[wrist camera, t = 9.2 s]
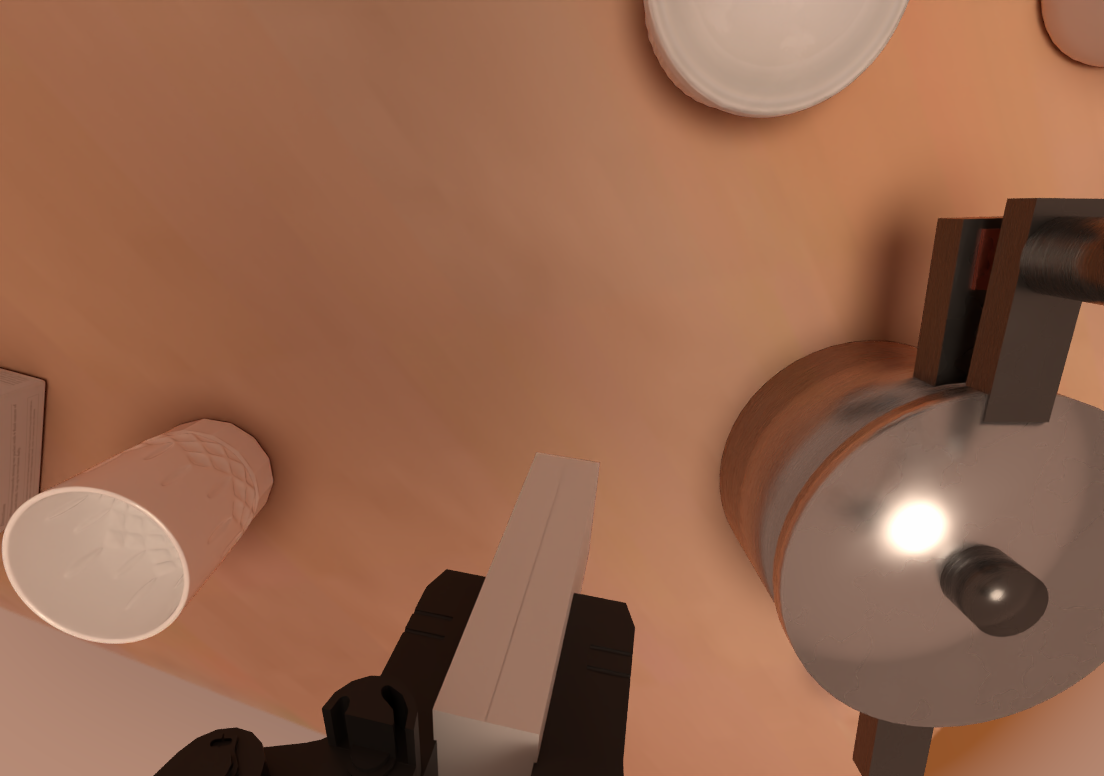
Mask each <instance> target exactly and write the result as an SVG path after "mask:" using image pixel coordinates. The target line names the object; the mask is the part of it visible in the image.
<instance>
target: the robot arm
mask: <svg viewBox="0 0 1104 776" xmlns="http://www.w3.org/2000/svg"><path fill="white" fill-rule="evenodd" d="M599 465H600V463H599V462H593V461H587V460H581V459H575V458H569V457H563V456H557V455H551V454H545V453H539V452H536V454H535V457H534V459H533V462H532V464H531V467H530V469H529V472H528V474H527V477H526V479H525V482H524V484H523V487H522V489H521V492H520V494H519V497H518V499H517V501H516V504H515V506H514V509H513V511H512V514H511V516H510V519H509V521H508V524H507V526H506V529H505V531H504V534H503V536H502V539H501V541H500V544H499V546H498V549H497V551H496V553H495V556H494V558H493V561H492V563H491V566H490V568H489V571H488V573H487V576H486V577H483V576H478V575H473V574H468V573H463V572H458V571H453V570H448V569H446V570H445V571H444V572H443V573H442V574H441V575H439V576H438V577H437V578H436V579H435V580H434V581H433V582H431V583H430V584H429V585H428V586H427V587H426V589H425V591H424V593H423V595H422V597H421V599H420V600H419V602H418V604H417V606H416V608H415V612H414V614H412V616H411V618H410V620H409V622H408V624H407V626H406V628H405V632H403V633H402V635H401V637H400V639H399V641H398V643H397V645H396V647H395V649H394V651H393V653H392V655H391V657H390V659H389V661H388V663H387V664H386V666H385V668H384V670H383V672H382V674H381V676H368V677H365V678H361V679H358V680H354V681H352V682H350V683H349V684H347V685H345V686H344V687H342V688H341V689H339V690H338V691H336V692H335V693H334V694H333V695H332V697H331V698H330V699H329V700H328V701H327V703H326V704H325V705H324V706H323V708H322V712H323V717H324V723H325V728H326V734H327V737H326V738H324V739H322V740H317V741H312V742H308V743H300V744H292V745H282V746H273V747H263V745H262V743H261V742H260V740H259V739H258V738H257V737H256V736H255V735H254V734H253V733H252V732H249V731H246V730H243V729H239V728H227V729H218V730H215V731H213V732H210V733H208V734H206V735H203V736H201V737H198V738H197V739H195V740H194V741H192V742H191V743H190V744H188V745H187V746H186V747H184V748H183V749H182V750H180V751H179V752H178V753H177V754H176V755H175V756H174V757H173V758H172V759H170V760H169V761H168V762H167V763H166V764H165V765H164V766H163V767H162V768H161V769H160V770H159V771H158V772H157V773H156V774H155V775H154V776H624V773H623V756H624V745H625V733H626V722H627V711H628V700H629V688H630V676H631V666H632V654H633V643H634V632H635V626H634V624H633V621H632V618H631V616H630V613H629V610H628V608H627V605H626V603H623V602H618V601H613V600H608V599H603V598H598V597H593V596H587V595H582V594H580V593H581V589H582V584H583V579H584V574H585V569H586V564H587V559H588V554H589V547H590V539H591V531H592V523H593V514H594V506H595V498H596V490H597V482H598V473H599Z"/></svg>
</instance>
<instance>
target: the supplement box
mask: <svg viewBox="0 0 1104 776" xmlns="http://www.w3.org/2000/svg"><path fill="white" fill-rule="evenodd" d="M44 398H45V381H44V380H41V379H38V378H34V377H31V376H27V375H23V374H20V373H16V372H12V371H8V370H5V369H1V368H0V532H2V531H4V530H5V528H6V526H7V523H8V521H9V520H10V518H11V516H12V515H13V514H14V512H15V511H16V510H17V509H18V508H19V507H20V506H21V505H22V504H23V503H25V502H26V501H27V500H29V499H30V498H32V497H34V496H35V495H37V494H39V480H40V464H41V448H42V432H43V415H44Z"/></svg>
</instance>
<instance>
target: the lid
mask: <svg viewBox="0 0 1104 776" xmlns="http://www.w3.org/2000/svg"><path fill="white" fill-rule="evenodd" d="M1082 302H1088V303H1093V304H1099V305H1104V199H1065V198H1020V199H1007V203H1006V207H1005V212H1004V216H1003V221H1002V225H1001V229H1000V234H999V238H998V243H997V247H996V252H995V256H994V261H993V265H992V270H991V274H990V279H989V283H988V288H987V292H986V297H985V301H984V305H983V310H982V314H981V319H980V323H979V328H978V332H977V337H976V341H975V346H974V350H973V355H972V359H971V364H970V368H969V372H968V377H967V381H966V386H965V387H959V388H954V389H948V390H944V391H941V392H937V393H934V394H931V395H927V396H924V397H921V398H918V399H916V400H913V401H911V402H909V403H906V404H904V405H902V406H899V407H897V408H895V409H893V410H891V411H889V412H887V413H886V414H884V415H882V416H880V417H879V418H877V419H875V420H873V421H872V422H870V423H868V424H867V425H866V426H864V427H863V428H861V429H860V430H859V431H857V432H856V433H855V434H853V435H852V436H850V437H849V438H848V439H847V440H845V441H844V442H843V443H842V444H841V445H840V446H839V447H838V448H837V449H835V450H834V451H833V452H832V453H831V454H830V455H829V456H828V457H827V458H826V459H825V460H824V461H823V463H822V464H821V465H820V466H819V467H818V468H817V469H816V470H815V472H814V473H813V474H812V475H811V476H810V478H809V479H808V481H807V482H806V484H805V485H804V487H803V488H802V489H801V491H800V492H799V494H798V495H797V497H796V499H795V501H794V503H793V505H792V507H791V508H790V510H789V512H788V514H787V516H786V519H785V521H784V524H783V527H782V530H781V532H780V535H779V538H778V542H777V547H776V551H775V556H774V563H773V580H772V581H773V592H774V601H775V605H776V609H777V613H778V617H779V620H780V623H781V625H782V627H783V629H784V632H785V634H786V636H787V638H788V640H789V642H790V644H791V645H792V647H793V649H794V651H795V652H796V654H797V656H798V657H799V659H800V660H801V662H802V664H803V665H804V667H805V668H806V670H807V671H808V672H809V674H810V675H811V676H812V677H813V678H814V679H815V680H816V681H817V682H818V684H819V685H820V686H821V687H823V688H824V689H825V690H826V691H827V692H829V693H830V694H831V695H832V696H834V697H835V698H836V699H838V700H839V701H841V702H843V703H844V704H846V705H848V706H849V707H851V708H853V709H855V710H857V711H860V712H862V713H864V714H867V715H869V716H871V717H874V718H878V719H881V720H885V721H888V722H892V723H897V724H904V725H910V726H920V727H951V726H963V725H970V724H976V723H982V722H987V721H991V720H995V719H998V718H1002V717H1006V716H1009V715H1012V714H1015V713H1018V712H1020V711H1023V710H1026V709H1028V708H1031V707H1033V706H1035V705H1037V704H1040V703H1042V702H1044V701H1046V700H1048V699H1050V698H1052V697H1054V696H1056V695H1057V694H1059V693H1061V692H1063V691H1064V690H1066V689H1068V688H1069V687H1071V686H1073V685H1074V684H1076V683H1077V682H1078V681H1080V680H1081V679H1083V678H1084V677H1086V676H1087V675H1088V674H1090V673H1091V672H1092V671H1094V670H1095V669H1096V668H1097V667H1098V666H1099V665H1101V664H1102V663H1103V662H1104V411H1102V410H1100V409H1099V408H1096V407H1094V406H1091V405H1088V404H1085V403H1083V402H1080V401H1077V400H1074V399H1072V398H1069V397H1066V396H1063V395H1061V394H1058V393H1057V391H1058V387H1059V384H1060V380H1061V376H1062V373H1063V369H1064V365H1065V362H1066V358H1067V354H1068V351H1069V347H1070V343H1071V340H1072V336H1073V332H1074V329H1075V325H1076V321H1077V318H1078V314H1079V310H1080V307H1081V303H1082Z"/></svg>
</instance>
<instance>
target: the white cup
mask: <svg viewBox="0 0 1104 776" xmlns="http://www.w3.org/2000/svg"><path fill="white" fill-rule="evenodd" d="M272 485H273V476H272V471H271V465H270V460H269V457H268V456H267V455H266V453H265V452H264V450H263V449H262V448H261V446H260V445H259V444H258V442H257V441H256V439H255V438H254V437H252V436H251V435H249V434H248V433H246V432H244V431H243V430H241V429H240V428H238V427H236V426H235V425H233V424H232V423H227V422H221V421H216V420H210V419H200V420H197V421H193V422H189V423H185V424H181V425H178V426H176V427H174V428H172V429H170V430H169V431H167V432H165V433H163V434H161V435H158V436H155V437H153V438H150V439H148V440H146V441H143V442H141V443H139V444H137V445H136V446H134V447H132V448H129V449H127V450H125V451H123V452H120V453H118V454H116V455H114V456H112V457H110V458H108V459H106V460H104V461H102V462H100V463H98V464H96V465H94V466H93V467H91V468H89V469H87V470H85V471H83V472H81V473H79V474H77V475H75V476H73V477H71V478H69V479H67V480H65V481H63V482H61V483H59V484H57V485H55V486H53V487H51V488H49V489H47V490H45V491H43V492H41V493H39V494H37V495H35V496H34V497H32V498H30V499H29V500H27V501H26V502H25V503H23V504H22V505H21V506H20V507H19V508H18V509H17V510H16V511H15V512H14V514H13V515H12V516H11V518H10V520H9V521H8V523H7V526H6V528H5V531H4V535H3V540H2V558H3V564H4V568H5V571H6V574H7V576H8V578H9V581H10V583H11V585H12V586H13V588H14V590H15V591H16V593H17V594H18V595H19V597H20V598H21V599H22V601H23V602H24V603H25V604H26V605H27V606H28V607H29V608H30V609H31V610H32V611H33V612H34V613H35V614H36V615H38V616H39V617H40V618H42V619H43V620H44V621H46V622H47V623H49V624H50V625H52V626H54V627H55V628H57V629H59V630H61V631H63V632H65V633H67V634H70V635H72V636H75V637H78V638H81V639H85V640H89V641H93V642H99V643H110V644H120V643H130V642H136V641H140V640H143V639H146V638H149V637H151V636H154V635H156V634H158V633H159V632H161V631H163V630H164V629H165V628H167V627H168V626H169V625H170V624H171V623H173V622H174V620H175V619H176V618H177V617H178V616H179V615H180V613H181V612H182V611H183V609H184V608H185V607H186V606H187V604H188V603H189V602H190V601H191V599H192V598H193V597H194V596H195V595H196V593H197V592H198V591H199V590H200V588H201V587H202V586H203V585H204V583H205V582H206V581H207V580H208V579H209V577H210V576H211V575H212V574H213V572H214V571H215V570H216V569H217V567H218V566H219V565H220V564H221V563H222V561H223V560H224V559H225V557H226V556H227V555H228V554H229V552H230V551H231V549H232V548H233V546H234V545H235V544H236V543H237V541H238V540H239V539H240V538H241V536H242V535H243V534H244V532H245V531H246V529H247V527H248V526H249V524H250V522H251V521H252V520H253V518H254V517H255V516H256V515H257V514H258V513H259V511H260V510H261V509H262V508H263V507H264V505H265V504H266V502H267V499H268V496H269V494H270V491H271V488H272Z"/></svg>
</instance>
